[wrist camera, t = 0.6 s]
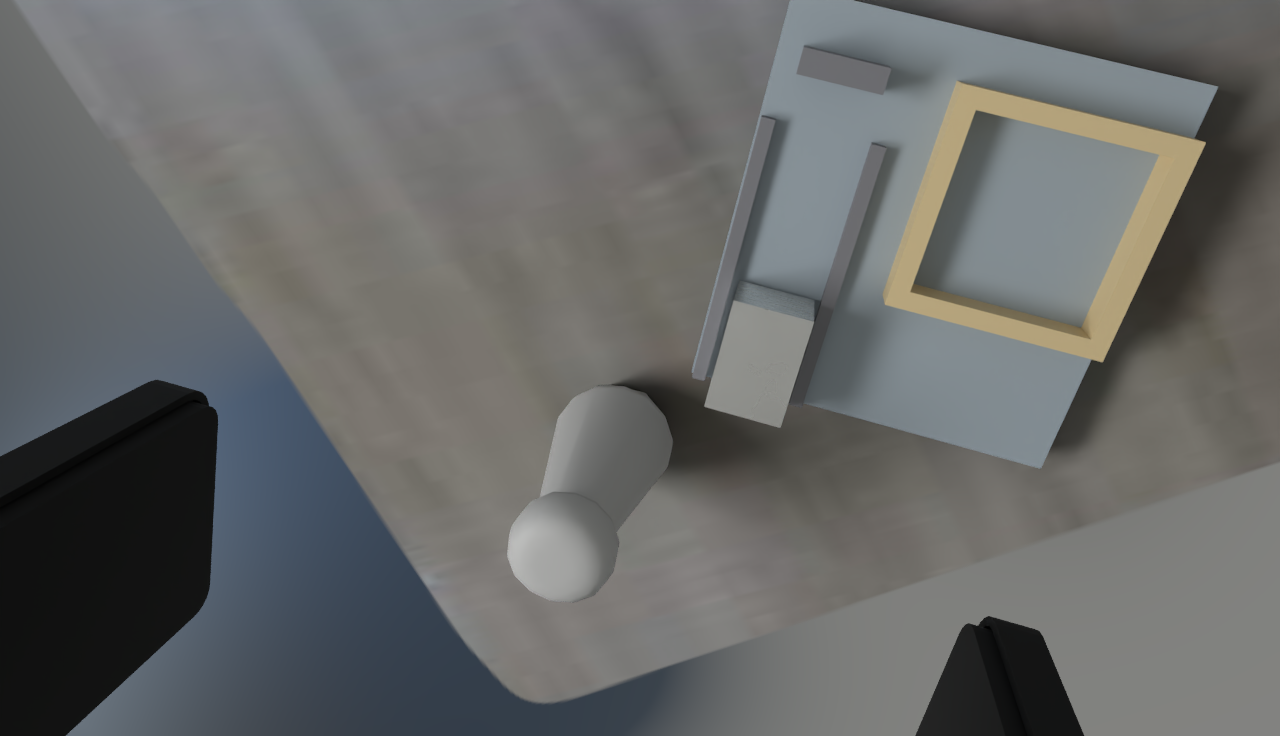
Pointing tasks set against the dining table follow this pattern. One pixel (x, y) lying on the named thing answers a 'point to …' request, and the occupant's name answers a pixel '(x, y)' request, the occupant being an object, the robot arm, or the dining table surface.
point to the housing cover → (760, 353)
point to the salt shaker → (589, 492)
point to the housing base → (952, 218)
